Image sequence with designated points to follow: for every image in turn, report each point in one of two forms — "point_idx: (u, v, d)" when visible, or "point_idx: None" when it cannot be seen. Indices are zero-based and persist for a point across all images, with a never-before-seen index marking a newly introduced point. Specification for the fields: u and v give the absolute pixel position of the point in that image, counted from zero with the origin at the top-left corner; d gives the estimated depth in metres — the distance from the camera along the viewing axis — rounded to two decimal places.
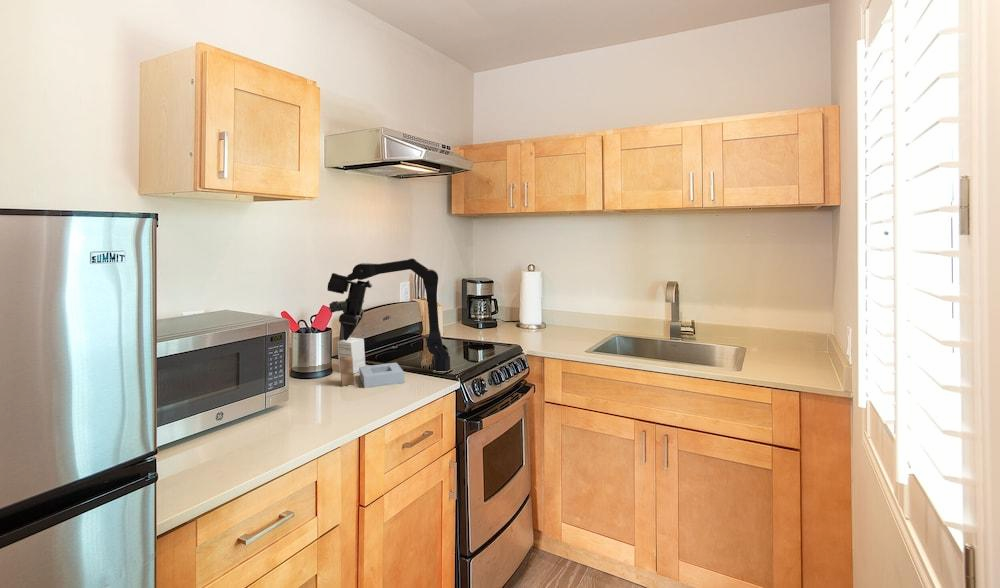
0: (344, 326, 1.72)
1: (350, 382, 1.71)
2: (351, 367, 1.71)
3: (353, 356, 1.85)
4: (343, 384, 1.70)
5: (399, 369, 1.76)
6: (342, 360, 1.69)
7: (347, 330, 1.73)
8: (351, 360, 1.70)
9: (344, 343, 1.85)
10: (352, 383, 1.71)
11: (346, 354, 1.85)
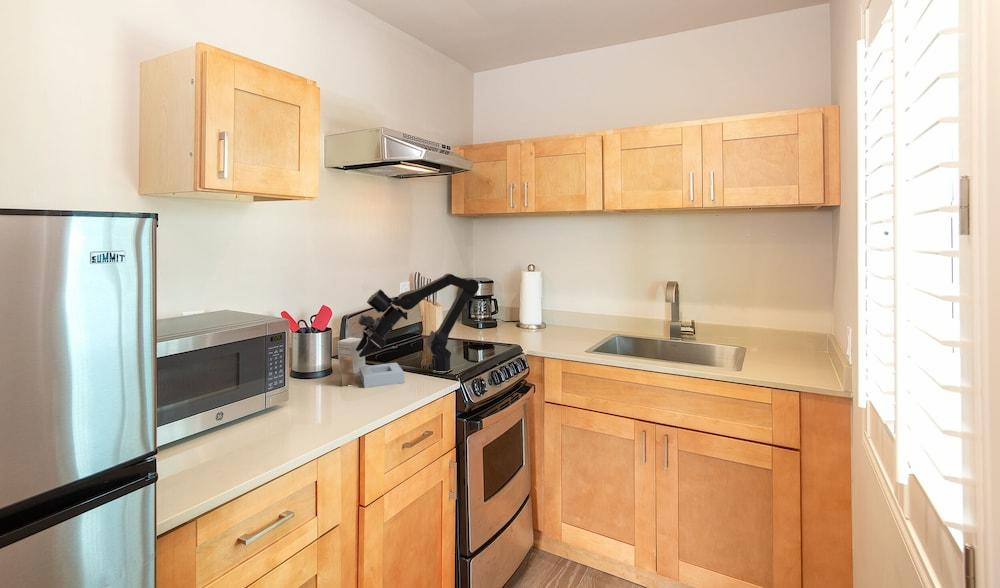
0: (368, 344, 1.68)
1: (350, 382, 1.71)
2: (351, 367, 1.71)
3: (353, 356, 1.85)
4: (343, 384, 1.70)
5: (399, 369, 1.76)
6: (342, 360, 1.69)
7: (368, 349, 1.68)
8: (351, 360, 1.70)
9: (344, 343, 1.85)
10: (352, 383, 1.71)
11: (346, 354, 1.85)
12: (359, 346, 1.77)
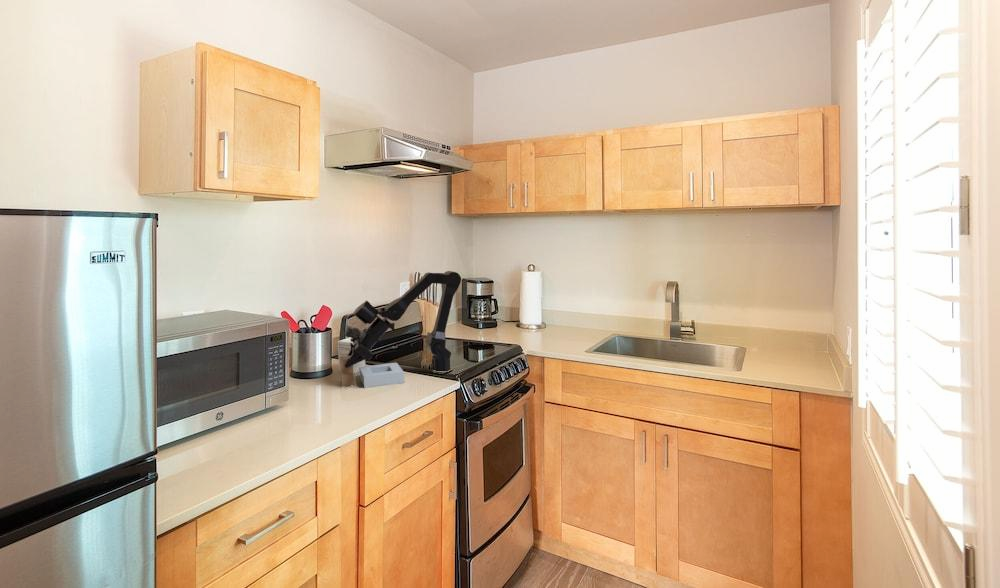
0: (353, 354, 1.69)
1: (350, 382, 1.71)
2: (351, 367, 1.71)
3: None
4: (343, 384, 1.70)
5: (399, 369, 1.76)
6: (342, 360, 1.69)
7: (353, 359, 1.69)
8: None
9: (344, 343, 1.85)
10: (352, 383, 1.71)
11: (346, 354, 1.85)
12: None
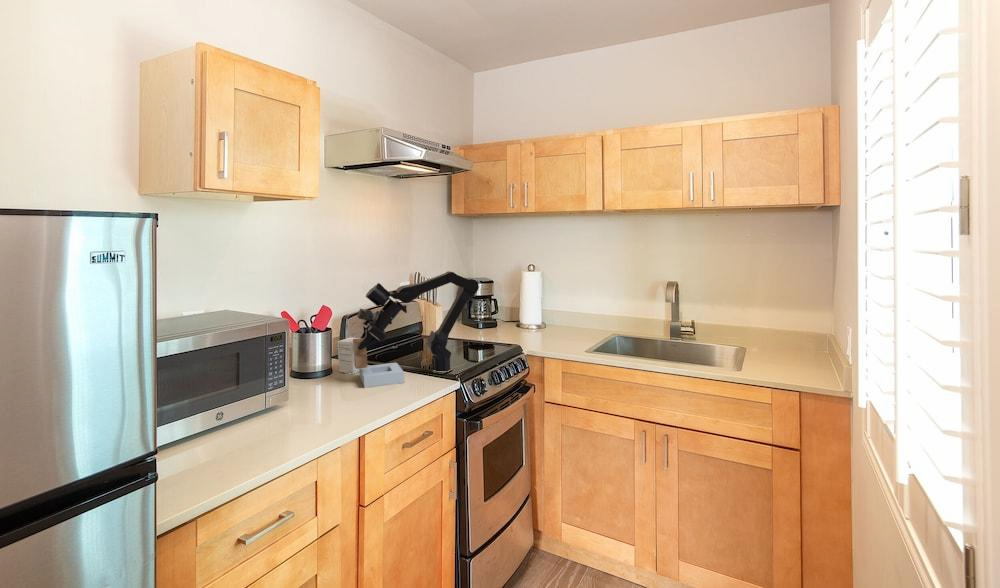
0: (367, 336, 1.70)
1: (363, 364, 1.72)
2: (364, 349, 1.72)
3: (353, 356, 1.85)
4: (357, 366, 1.71)
5: (399, 369, 1.76)
6: (355, 342, 1.70)
7: (367, 341, 1.70)
8: None
9: (344, 343, 1.85)
10: (366, 365, 1.72)
11: (346, 354, 1.85)
12: None
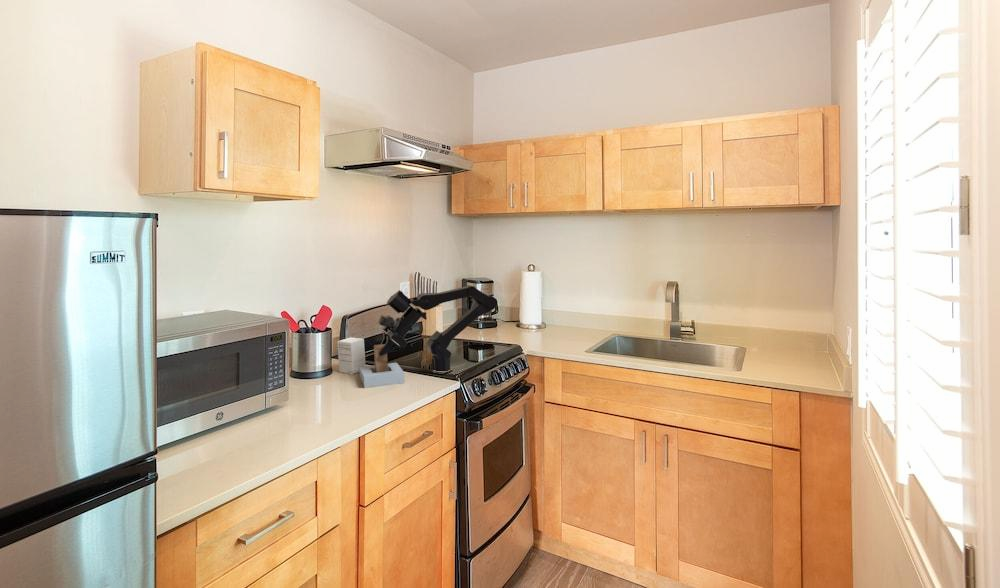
0: (388, 343, 1.73)
1: (384, 370, 1.75)
2: (385, 355, 1.75)
3: (353, 356, 1.85)
4: None
5: (399, 369, 1.76)
6: (377, 348, 1.73)
7: (388, 347, 1.73)
8: None
9: (344, 343, 1.85)
10: None
11: (346, 354, 1.85)
12: None
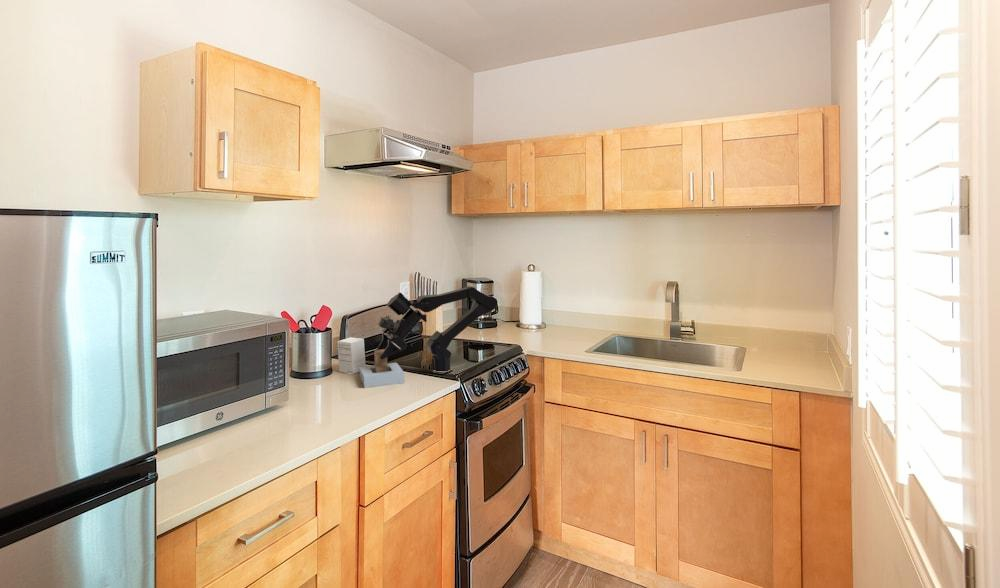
0: (389, 346, 1.71)
1: None
2: (385, 360, 1.75)
3: (353, 356, 1.85)
4: None
5: (399, 369, 1.76)
6: (377, 353, 1.74)
7: (389, 351, 1.71)
8: None
9: (344, 343, 1.85)
10: None
11: (346, 354, 1.85)
12: (379, 348, 1.80)
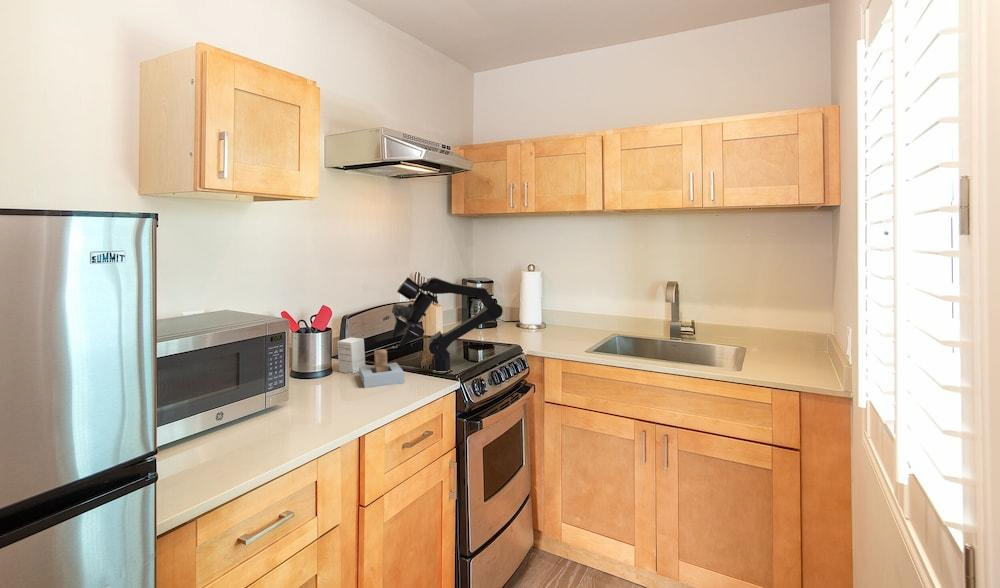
0: (407, 334, 1.75)
1: None
2: (385, 360, 1.75)
3: (353, 356, 1.85)
4: None
5: (399, 369, 1.76)
6: (377, 353, 1.74)
7: (407, 338, 1.76)
8: (385, 353, 1.75)
9: (344, 343, 1.85)
10: None
11: (346, 354, 1.85)
12: (394, 332, 1.84)
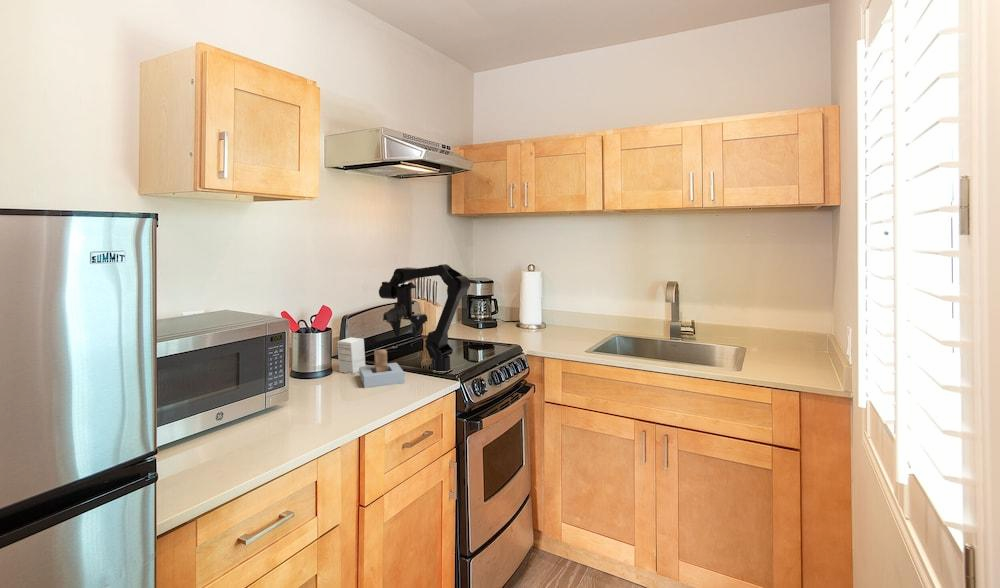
0: (415, 327, 1.86)
1: None
2: (385, 360, 1.75)
3: (353, 356, 1.85)
4: None
5: (399, 369, 1.76)
6: (377, 353, 1.74)
7: (416, 330, 1.88)
8: (385, 353, 1.75)
9: (344, 343, 1.85)
10: None
11: (346, 354, 1.85)
12: (397, 332, 1.93)
